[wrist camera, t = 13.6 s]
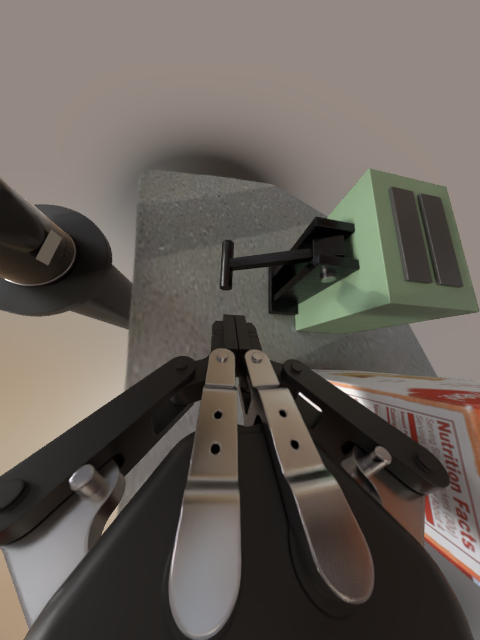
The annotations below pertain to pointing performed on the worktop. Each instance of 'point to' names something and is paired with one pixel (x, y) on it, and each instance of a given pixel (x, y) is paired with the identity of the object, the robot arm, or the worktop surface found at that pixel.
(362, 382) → the cracker box
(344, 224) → the lever bracket
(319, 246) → the toaster lever
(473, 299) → the toaster
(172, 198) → the worktop surface
